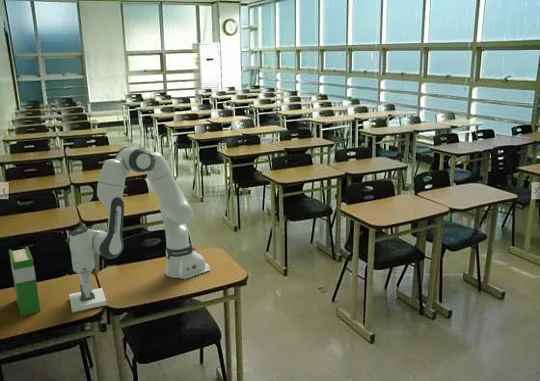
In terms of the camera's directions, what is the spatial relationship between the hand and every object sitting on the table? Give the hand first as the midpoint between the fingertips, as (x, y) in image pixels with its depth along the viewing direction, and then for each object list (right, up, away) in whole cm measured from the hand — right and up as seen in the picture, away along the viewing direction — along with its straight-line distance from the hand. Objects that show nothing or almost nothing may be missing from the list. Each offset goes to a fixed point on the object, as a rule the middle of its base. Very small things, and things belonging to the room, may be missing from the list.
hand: (87, 293), depth 206 cm
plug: (0, -2, 0) cm, 2 cm away
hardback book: (-25, -5, -1) cm, 26 cm away
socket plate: (0, -4, +1) cm, 4 cm away
